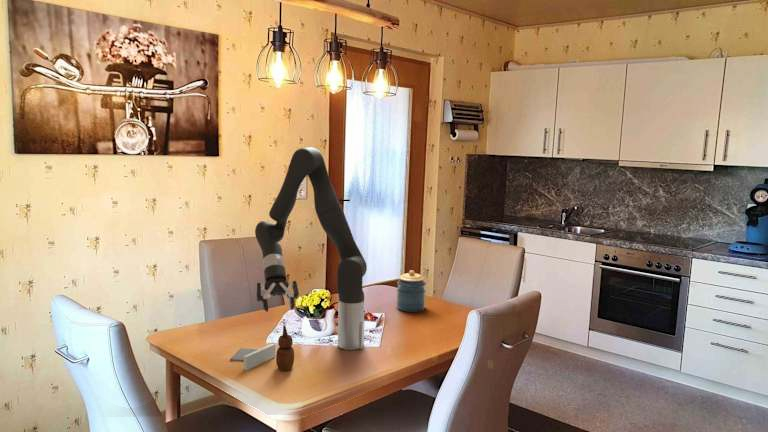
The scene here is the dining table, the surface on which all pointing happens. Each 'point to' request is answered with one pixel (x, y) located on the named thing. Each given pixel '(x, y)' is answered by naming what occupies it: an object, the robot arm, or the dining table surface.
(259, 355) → the frosted wall
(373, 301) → the dining table surface
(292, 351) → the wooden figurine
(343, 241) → the robot arm
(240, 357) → the slate coaster
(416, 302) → the canister
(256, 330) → the dining table surface
